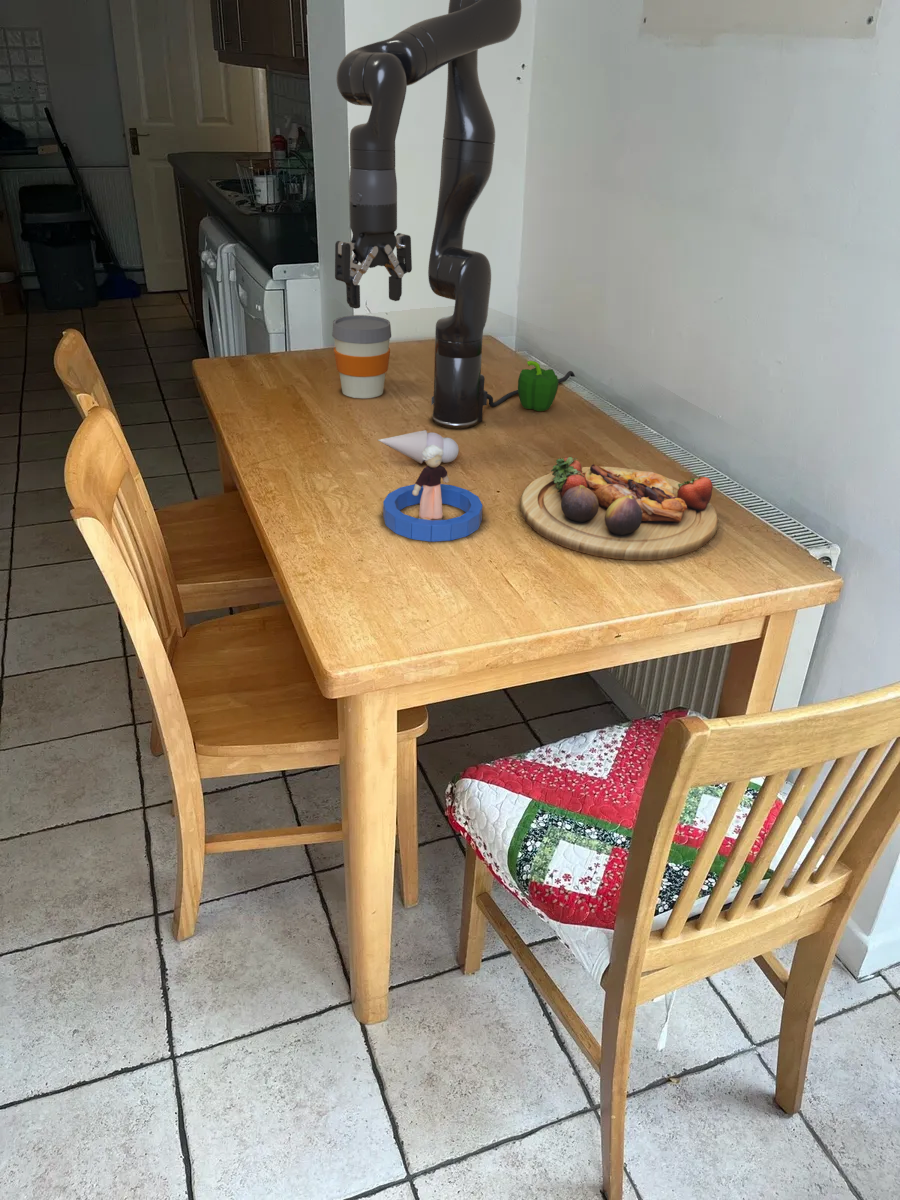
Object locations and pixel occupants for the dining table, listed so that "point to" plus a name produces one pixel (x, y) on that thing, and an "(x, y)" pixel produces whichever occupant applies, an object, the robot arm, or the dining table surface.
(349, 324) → the reusable coffee cup
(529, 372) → the bell pepper
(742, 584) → the dining table surface
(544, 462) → the dining table surface
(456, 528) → the tape ring
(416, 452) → the ice cream cone
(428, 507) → the grandmother figurine
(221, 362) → the dining table surface
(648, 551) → the wooden plate
